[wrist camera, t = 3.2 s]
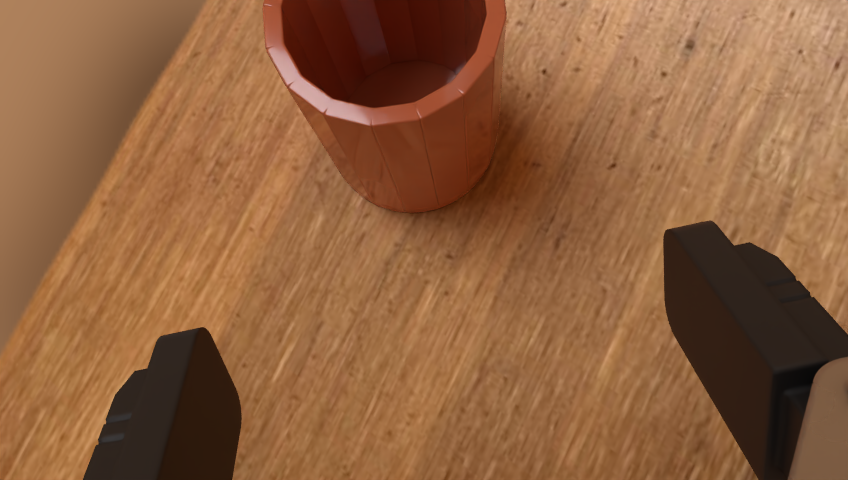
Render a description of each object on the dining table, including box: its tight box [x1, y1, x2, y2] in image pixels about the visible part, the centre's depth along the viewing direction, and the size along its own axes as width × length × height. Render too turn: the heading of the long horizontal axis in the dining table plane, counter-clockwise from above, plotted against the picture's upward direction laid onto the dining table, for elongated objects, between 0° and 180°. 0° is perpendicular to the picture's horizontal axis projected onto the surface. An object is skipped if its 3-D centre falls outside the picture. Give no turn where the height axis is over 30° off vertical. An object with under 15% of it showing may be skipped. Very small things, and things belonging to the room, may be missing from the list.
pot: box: [263, 0, 507, 213], centre depth 23 cm, size 6×6×9 cm
